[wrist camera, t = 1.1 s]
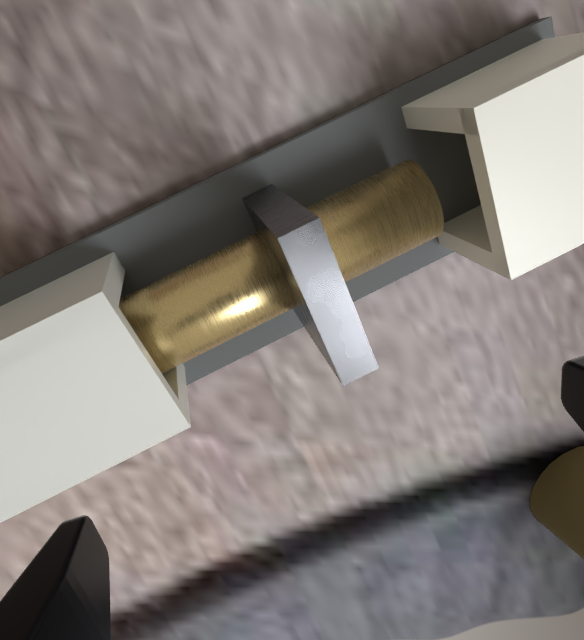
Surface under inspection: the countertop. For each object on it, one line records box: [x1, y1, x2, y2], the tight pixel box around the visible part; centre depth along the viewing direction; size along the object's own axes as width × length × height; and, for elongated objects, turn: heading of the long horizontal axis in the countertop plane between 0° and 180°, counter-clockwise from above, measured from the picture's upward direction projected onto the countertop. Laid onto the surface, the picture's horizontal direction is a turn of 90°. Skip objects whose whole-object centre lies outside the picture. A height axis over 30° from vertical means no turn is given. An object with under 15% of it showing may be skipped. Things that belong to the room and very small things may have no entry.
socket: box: [401, 32, 584, 280], centre depth 18 cm, size 6×6×5 cm
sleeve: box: [0, 252, 191, 523], centre depth 17 cm, size 7×5×4 cm
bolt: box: [118, 159, 444, 386], centre depth 17 cm, size 17×5×6 cm, turn 113°
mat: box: [0, 17, 554, 385], centre depth 20 cm, size 26×7×1 cm, turn 113°
